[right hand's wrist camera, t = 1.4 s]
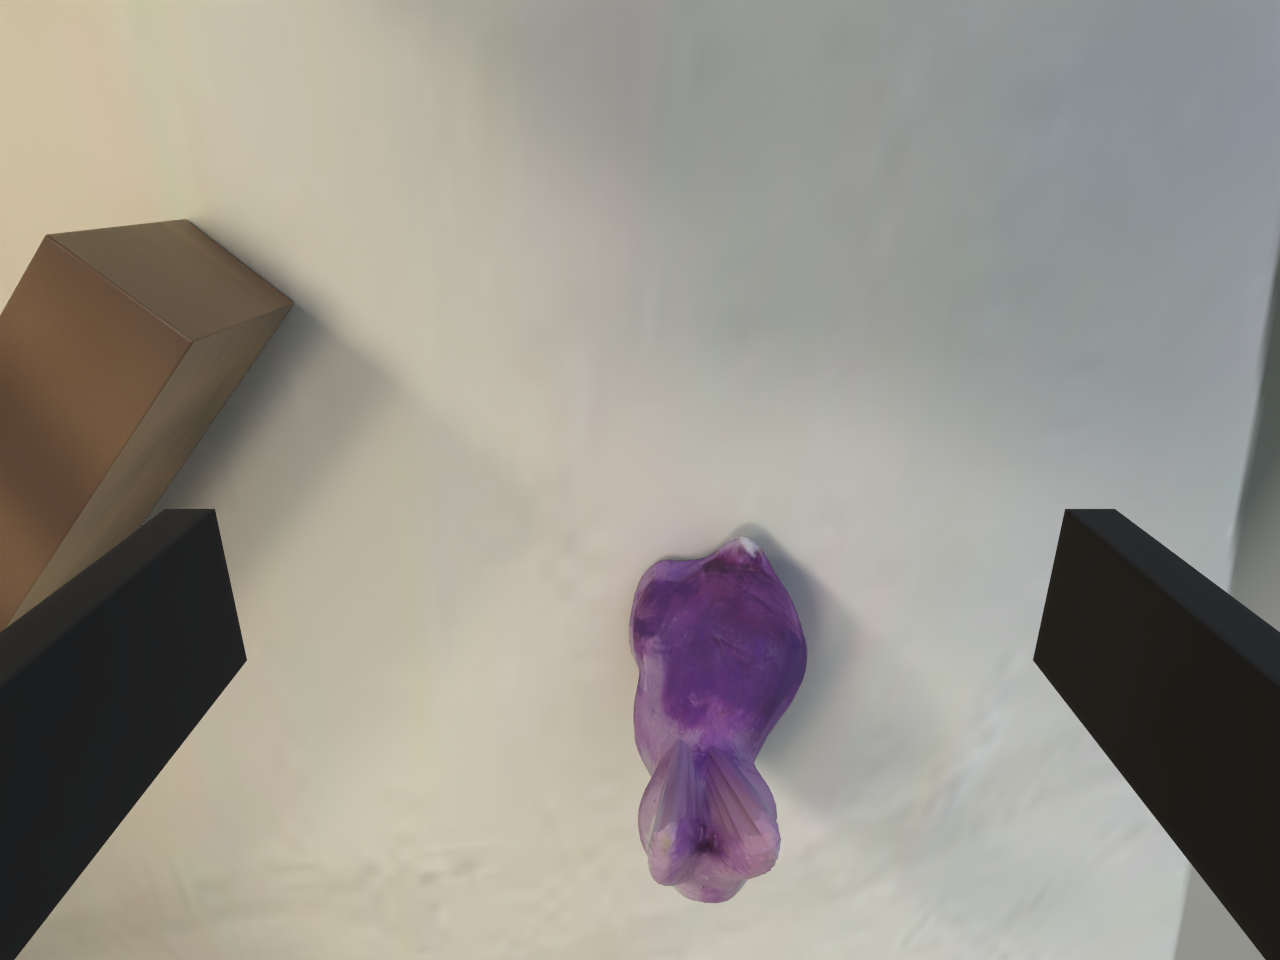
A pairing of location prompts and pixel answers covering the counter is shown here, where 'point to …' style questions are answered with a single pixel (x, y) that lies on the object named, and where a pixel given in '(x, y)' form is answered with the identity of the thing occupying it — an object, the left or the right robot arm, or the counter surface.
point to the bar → (112, 388)
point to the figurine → (711, 714)
